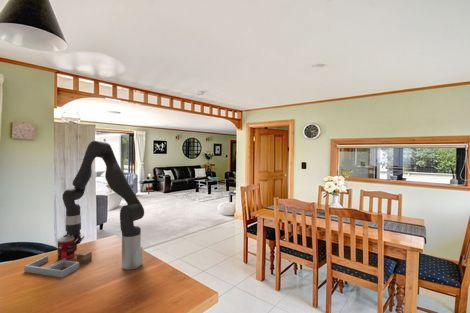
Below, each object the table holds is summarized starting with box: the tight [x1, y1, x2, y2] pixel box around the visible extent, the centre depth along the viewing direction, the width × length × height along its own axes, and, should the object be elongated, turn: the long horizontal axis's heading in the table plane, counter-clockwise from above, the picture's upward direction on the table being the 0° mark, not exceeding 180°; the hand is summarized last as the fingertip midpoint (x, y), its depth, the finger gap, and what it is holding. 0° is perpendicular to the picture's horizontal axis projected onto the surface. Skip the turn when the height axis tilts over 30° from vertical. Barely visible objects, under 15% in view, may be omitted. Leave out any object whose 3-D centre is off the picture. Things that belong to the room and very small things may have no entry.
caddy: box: [24, 255, 80, 278], centre depth 125 cm, size 23×12×3 cm, turn 78°
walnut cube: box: [76, 250, 93, 265], centre depth 134 cm, size 5×5×5 cm
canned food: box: [57, 236, 76, 261], centre depth 138 cm, size 8×8×11 cm
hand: (73, 251), depth 143 cm, fingers closed
